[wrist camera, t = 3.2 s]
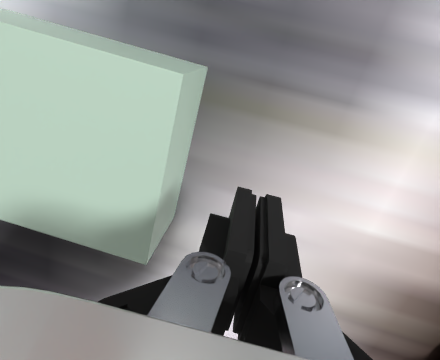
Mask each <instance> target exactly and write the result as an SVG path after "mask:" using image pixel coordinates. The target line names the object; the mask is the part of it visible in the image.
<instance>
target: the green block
mask: <svg viewBox="0 0 440 360" xmlns="http://www.w3.org/2000/svg"><path fill="white" fill-rule="evenodd" d="M207 68H208V67H206V66H202V65H199V64H195V63H192V62H188V61H185V60H181V59H178V58H174V57H171V56H167V55H164V54H160V53H157V52H153V51H150V50H146V49H143V48H139V47H136V46H132V45H129V44H125V43H122V42H118V41H115V40H111V39H108V38H104V37H101V36H97V35H94V34H90V33H87V32H83V31H80V30H76V29H73V28H69V27H66V26H62V25H59V24H55V23H51V22H48V21H44V20H41V19H37V18H34V17H30V16H27V15H23V14H20V13H16V12H13V11H9V10H6V9H0V220H3V221H7V222H10V223H13V224H16V225H19V226H23V227H26V228H29V229H32V230H35V231H39V232H42V233H45V234H48V235H51V236H55V237H58V238H61V239H64V240H67V241H71V242H74V243H77V244H80V245H83V246H87V247H90V248H93V249H96V250H99V251H103V252H106V253H109V254H112V255H115V256H119V257H122V258H125V259H128V260H131V261H135V262H138V263H141V264H144V265H147V263H148V261H149V260H150V258H151V256H152V254H153V253H154V251H155V249H156V247H157V246H158V244H159V242H160V241H161V239H162V237H163V235H164V234H165V232H166V230H167V228H168V227H169V225H170V223H171V222H172V220H173V218H174V215H175V211H176V206H177V202H178V198H179V193H180V189H181V184H182V180H183V175H184V171H185V166H186V162H187V157H188V153H189V148H190V144H191V140H192V135H193V131H194V126H195V122H196V117H197V113H198V108H199V104H200V99H201V95H202V91H203V86H204V82H205V77H206V73H207Z"/></svg>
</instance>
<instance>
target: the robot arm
mask: <svg viewBox="0 0 440 360" xmlns="http://www.w3.org/2000/svg"><path fill="white" fill-rule="evenodd" d="M233 316H234V323H233V332H234V333H237V334H238V340H236V339H232V338H229V337H225V336H223V335H224V332H225V330H226V331H228V330H229V327H230V324H231V321H232V319H233ZM0 360H373V359H371V358H370V357H369V356H368V355H367V354H366V353H365V352H364V351H363V350H362V349H361V348H360V347H358V346H357V345H356V344H355V343H354V342H353V341H352V340H351V339H350V338H349V337H348V336H346V335H345V334H344V333H343V332H342V331H341V328H340V326H339V323H338V321H337V319H336V316H335V314H334V312H333V309H332V307H331V305H330V302H329V300H328V298H327V296H326V295H325V293H324V292H323V291H322V290H321V289H320V288H319V287H318V286H317V285H315V284H314V283H313V282H311V281H309V280H307V279H304V278H302V273H301V267H300V261H299V255H298V249H297V243H296V238H295V236H294V235H290V234H286V233H285V228H284V220H283V211H282V203H281V198H279V197H276V196H272V195H268V194H266V196H265V197H261V196H260V198H259V201H258V204H257V207H256V195H253V194H252V190H249V189H245V188H241V187H238V188H237V191H236V195H235V198H234V202H233V205H232V209H231V212H230V216H229V218H226V217H222V216H219V215H215V214H210V217H209V220H208V223H207V226H206V230H205V233H204V236H203V240H202V243H201V246H200V250H199V252H195V253H191V254H189V255H187V256H186V257H185V258H184V259H183V260H182V261H181V263H180V265H179V266H178V268H177V269H176V271H175V272H174V274H173V275H172V276H169V277H166V278H163V279H160V280H157V281H154V282H151V283H148V284H145V285H142V286H139V287H136V288H133V289H131V290H128V291H125V292H122V293H119V294H116V295H113V296H110V297H107V298H104V299H102V300H100V301H98V302H94V301H90V300H85V299H81V298H77V297H73V296H68V295H64V294H60V293H55V292H51V291H45V290H39V289H32V288H26V287H11V286H0Z"/></svg>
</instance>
